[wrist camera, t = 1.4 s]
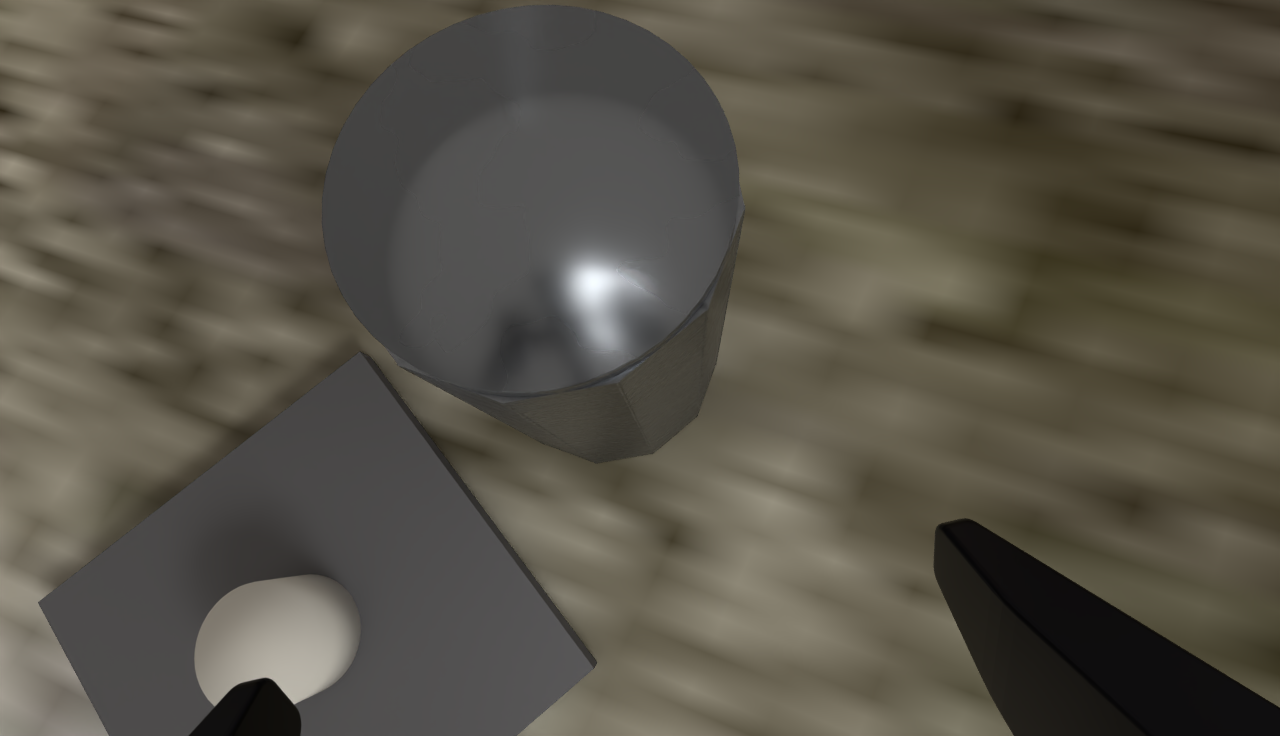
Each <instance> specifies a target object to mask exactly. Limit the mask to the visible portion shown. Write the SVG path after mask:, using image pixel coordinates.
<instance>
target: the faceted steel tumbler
mask: <svg viewBox="0 0 1280 736" xmlns="http://www.w3.org/2000/svg"><path fill="white" fill-rule="evenodd" d="M744 213H745V205H744V202H743V197H742V193H741V188H740V184H739V167H738V160H737V154H736V147H735V143H734V139H733V136H732V133H731V130H730V126H729V123H728V120H727V118H726V116H725V114H724V111H723V109H722V108H721V105H720V103H719V101H718V99H717V98H716V96H715V95H714V93H713V91H712V90H711V88H710V87H709V85H708V84H707V82H706V81H705V79H704V78H703V77H702V76H701V75H700V74H699V72H698V71H697V70H696V69H695V68H694V67H693V66H692V64H691V63H690V62H689V61H688V60H687V59H686V58H685V57H683V56H682V55H681V54H680V53H679V52H678V51H676V50H675V49H674V48H673V47H672V46H671V45H669V44H668V43H666V42H665V41H663V40H662V39H660V38H659V37H657V36H656V35H654V34H653V33H651V32H650V31H648V30H646V29H644V28H642V27H640V26H637V25H635V24H633V23H631V22H629V21H627V20H624V19H621V18H618V17H615V16H612V15H609V14H606V13H604V12H599V11H594V10H590V9H585V8H580V7H571V6H559V5H532V6H521V7H514V8H507V9H501V10H497V11H493V12H489V13H485V14H481V15H477V16H475V17H472V18H469V19H467V20H464V21H461V22H459V23H456V24H453V25H451V26H449V27H447V28H445V29H443V30H441V31H439V32H437V33H435V34H433V35H431V36H430V37H428V38H427V39H425V40H423V41H422V42H420V43H419V44H417V45H416V46H414V47H413V48H411V49H410V50H408V51H407V52H406V53H405V54H403V55H402V56H401V57H400V58H399V59H397V60H396V61H395V62H394V63H392V64H391V65H390V66H389V67H388V68H387V69H386V70H385V71H384V72H383V73H382V74H381V75H380V76H379V77H378V78H377V79H376V80H375V81H374V82H373V83H372V84H371V86H370V87H369V88H368V90H367V91H366V92H365V93H364V95H363V96H362V97H361V99H360V100H359V101H358V103H357V104H356V105H355V107H354V109H353V110H352V112H351V114H350V115H349V117H348V119H347V121H346V122H345V124H344V126H343V128H342V130H341V132H340V134H339V137H338V139H337V141H336V144H335V146H334V148H333V151H332V154H331V158H330V161H329V165H328V168H327V172H326V177H325V183H324V190H323V197H322V228H323V235H324V243H325V249H326V253H327V256H328V260H329V263H330V267H331V271H332V273H333V276H334V278H335V280H336V283H337V285H338V287H339V289H340V291H341V293H342V295H343V297H344V299H345V300H346V302H347V303H348V305H349V306H350V308H351V310H352V311H353V313H354V314H355V316H356V317H357V318H358V319H359V321H360V322H361V323H362V324H363V325H364V326H365V328H366V329H367V330H368V331H369V332H370V333H371V334H372V336H373V337H375V338H376V339H377V340H378V341H379V342H380V343H382V344H383V345H384V346H385V348H386V349H387V350H388V352H389V353H390V354H391V356H392V357H393V358H394V360H395V361H396V362H397V365H399V366H400V367H401V368H403V369H405V370H407V371H409V372H410V373H412V374H414V375H416V376H418V377H420V378H422V379H423V380H425V381H427V382H429V383H431V384H433V385H435V386H436V387H438V388H440V389H442V390H444V391H446V392H448V393H450V394H451V395H453V396H455V397H457V398H459V399H461V400H463V401H464V402H466V403H468V404H470V405H472V406H474V407H476V408H477V409H479V410H481V411H483V412H485V413H487V414H489V415H490V416H492V417H494V418H496V419H498V420H500V421H502V422H504V423H505V424H507V425H509V426H511V427H513V428H515V429H517V430H518V431H520V432H522V433H524V434H526V435H528V436H530V437H531V438H533V439H535V440H537V441H539V442H541V443H543V444H544V445H545V444H546V445H549V446H551V447H554V448H557V449H559V450H562V451H565V452H567V453H570V454H573V455H575V456H578V457H581V458H583V459H586V460H589V461H591V462H594V463H595V464H596V463H597V464H598V463H602V462H607V461H613V460H619V459H624V458H630V457H636V456H641V455H647V454H653V453H654V452H655V451H657V450H658V449H659V448H660V447H661V446H663V445H664V444H665V443H666V442H667V441H669V440H670V439H671V438H672V437H673V436H675V435H676V434H677V433H678V432H679V431H680V430H682V429H683V428H684V427H685V426H686V425H688V424H689V423H690V422H691V421H692V420H694V419H695V418H696V417H697V416H698V413H699V410H700V407H701V404H702V401H703V399H704V396H705V393H706V390H707V387H708V385H709V382H710V379H711V376H712V373H713V371H714V368H715V365H716V362H717V357H718V352H719V346H720V341H721V336H722V330H723V325H724V320H725V314H726V309H727V304H728V298H729V293H730V288H731V282H732V277H733V272H734V266H735V261H736V256H737V250H738V245H739V240H740V234H741V229H742V224H743V218H744Z"/></svg>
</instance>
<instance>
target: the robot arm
mask: <svg viewBox="0 0 1280 736" xmlns="http://www.w3.org/2000/svg"><path fill="white" fill-rule="evenodd" d="M934 573H935V577H936V580H937V582H938V585H939V587H940V589H941V591H942V593H943V596H944V598H945V600H946V602H947V604H948V606H949V608H950V611H951V613H952V615H953V617H954V619H955V621H956V623H957V626H958V628H959V630H960V632H961V634H962V636H963V639H964V641H965V643H966V645H967V647H968V649H969V651H970V654H971V656H972V658H973V660H974V662H975V664H976V666H977V669H978V671H979V673H980V675H981V677H982V679H983V681H984V683H985V685H986V687H987V689H988V691H989V693H990V695H991V697H992V699H993V701H994V703H995V704H996V706H997V708H998V710H999V711H1000V713H1001V715H1002V717H1003V718H1004V720H1005V722H1006V723H1007V725H1008V727H1009V728H1010V730H1011V732H1012V733H1013V735H1014V736H1280V708H1279V707H1278V706H1276V705H1274V704H1273V703H1271V702H1270V701H1268V700H1266V699H1265V698H1263V697H1261V696H1260V695H1258V694H1256V693H1255V692H1253V691H1252V690H1250V689H1248V688H1247V687H1245V686H1243V685H1242V684H1240V683H1239V682H1237V681H1235V680H1234V679H1232V678H1230V677H1229V676H1227V675H1225V674H1224V673H1222V672H1221V671H1219V670H1217V669H1216V668H1214V667H1212V666H1211V665H1209V664H1207V663H1206V662H1204V661H1203V660H1201V659H1199V658H1198V657H1196V656H1194V655H1193V654H1191V653H1189V652H1188V651H1186V650H1185V649H1183V648H1181V647H1180V646H1178V645H1176V644H1175V643H1173V642H1171V641H1170V640H1168V639H1167V638H1165V637H1163V636H1162V635H1160V634H1158V633H1157V632H1155V631H1153V630H1152V629H1150V628H1149V627H1147V626H1145V625H1144V624H1142V623H1140V622H1139V621H1137V620H1135V619H1134V618H1132V617H1131V616H1129V615H1127V614H1126V613H1124V612H1122V611H1121V610H1119V609H1118V608H1116V607H1114V606H1113V605H1111V604H1109V603H1108V602H1106V601H1104V600H1103V599H1101V598H1100V597H1098V596H1096V595H1095V594H1093V593H1091V592H1090V591H1088V590H1086V589H1085V588H1083V587H1082V586H1080V585H1078V584H1077V583H1075V582H1073V581H1072V580H1070V579H1068V578H1067V577H1065V576H1064V575H1062V574H1060V573H1059V572H1057V571H1055V570H1054V569H1052V568H1050V567H1049V566H1047V565H1046V564H1044V563H1042V562H1041V561H1039V560H1037V559H1036V558H1034V557H1032V556H1031V555H1029V554H1028V553H1026V552H1024V551H1023V550H1021V549H1019V548H1018V547H1016V546H1014V545H1013V544H1011V543H1010V542H1008V541H1006V540H1005V539H1003V538H1001V537H1000V536H998V535H997V534H995V533H993V532H992V531H990V530H988V529H987V528H985V527H983V526H982V525H980V524H979V523H977V522H975V521H973V520H971V519H966V518H965V519H958V520H954V521H949V522H945V523H941V524H939V525H938V526H937V528H936V530H935V543H934ZM301 726H302V725H301V716H300V713H299V710H298V709H297V707H296V706H295V705H294V704H293V703H292V701H291V700H290V699H289V698H288V697H287V695H286V694H285V693H284V692H283V691H282V690H281V688H280V687H279V686H278V685H277V684H276V683H275V682H274V681H273V680H272V679H270V678H260V679H255V680H251V681H246V682H242V683H240V684H237V685H236V686H234V687H233V688H232V689H231V690H230V691H229V692H228V693H227V694H226V695H225V696H224V697H223V698H222V699H221V700H220V701H219V702H218V704H217V705H216V706H215V707H214V708H213V709H212V710H211V711H210V712H209V713H208V715H207V716H206V717H205V718H204V719H203V720H202V721H201V722H200V723H199V724H198V726H197V727H196V728H195V729H194V730H193V731H192V732H191V733H190V734H189V735H188V736H301Z"/></svg>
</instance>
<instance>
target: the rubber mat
mask: <svg viewBox="0 0 1280 736" xmlns="http://www.w3.org/2000/svg"><path fill="white" fill-rule="evenodd" d="M38 603H39V605H40V607H41V609H42V611H43V613H44V615H45V617H46V618H47V620H48V622H49V624H50V626H51V628H52V630H53V632H54V633H55V635H56V637H57V639H58V641H59V643H60V645H61V647H62V648H63V650H64V652H65V654H66V656H67V658H68V660H69V661H70V663H71V665H72V667H73V669H74V671H75V673H76V675H77V676H78V678H79V680H80V682H81V684H82V686H83V688H84V690H85V691H86V693H87V695H88V697H89V699H90V701H91V703H92V704H93V706H94V708H95V710H96V712H97V714H98V716H99V718H100V719H101V721H102V723H103V725H104V727H105V729H106V731H107V733H108V734H109V736H188V735H189V734H190V733H191V732H192V731H193V730H194V729H195V728H196V727H197V726H198V724H199V723H200V722H201V721H202V720H203V719H204V718H205V717H206V716H207V715H208V713H209V712H210V711H211V710H212V709H213V708H214V707H215V706H216V705H217V704H218V702H219V701H220V700H221V699H222V698H223V697H224V696H225V695H226V694H227V693H228V692H229V691H230V690H231V689H232V688H233V687H234V686H236V685H237V684H240V683H242V682H246V681H251V680H255V679H260V678H270V679H272V680H273V681H274V682H275V683H276V684H277V685H278V686H279V687H280V688H281V690H282V691H283V692H284V693H285V694H286V695H287V697H288V698H289V699H290V700H291V701H292V703H293V704H294V705H295V706H296V707H297V709H298V710H299V713H300V716H301V725H302V726H301V736H517V735H518V734H519V733H520V732H521V731H522V730H524V729H525V728H526V727H527V726H528V725H529V724H530V723H532V722H533V721H534V720H535V719H536V718H537V717H538V716H540V715H541V714H542V713H543V712H544V711H545V710H547V709H548V708H549V707H550V706H551V705H552V704H553V703H555V702H556V701H557V700H558V699H559V698H560V697H561V696H563V695H564V694H565V693H566V692H567V691H568V690H570V689H571V688H572V687H573V686H574V685H575V684H576V683H578V682H579V681H580V680H581V679H582V678H583V677H584V676H586V675H587V674H588V673H589V672H590V671H591V670H593V669H594V667H595V666H596V664H597V662H596V660H595V659H594V658H593V656H592V655H591V654H590V652H589V651H588V650H587V648H586V647H585V645H584V644H583V643H582V641H581V640H580V639H579V637H578V636H577V635H576V633H575V632H574V631H573V629H572V628H571V627H570V625H569V624H568V623H567V621H566V620H565V619H564V617H563V616H562V614H561V613H560V612H559V610H558V609H557V608H556V606H555V605H554V604H553V602H552V601H551V600H550V598H549V597H548V596H547V594H546V593H545V592H544V590H543V589H542V587H541V586H540V585H539V583H538V582H537V581H536V579H535V578H534V577H533V575H532V574H531V573H530V571H529V570H528V569H527V567H526V566H525V565H524V563H523V562H522V561H521V559H520V558H519V556H518V555H517V554H516V552H515V551H514V550H513V548H512V547H511V546H510V544H509V543H508V542H507V540H506V539H505V538H504V536H503V535H502V534H501V532H500V531H499V530H498V528H497V527H496V525H495V524H494V523H493V521H492V520H491V519H490V517H489V516H488V515H487V513H486V512H485V511H484V509H483V508H482V507H481V505H480V504H479V503H478V501H477V500H476V498H475V497H474V496H473V494H472V493H471V492H470V490H469V489H468V488H467V486H466V485H465V484H464V482H463V481H462V480H461V478H460V477H459V476H458V474H457V473H456V472H455V470H454V469H453V467H452V466H451V465H450V463H449V462H448V461H447V459H446V458H445V457H444V455H443V454H442V453H441V451H440V450H439V449H438V447H437V446H436V445H435V443H434V442H433V441H432V439H431V438H430V436H429V435H428V434H427V432H426V431H425V430H424V428H423V427H422V426H421V424H420V423H419V422H418V420H417V419H416V418H415V416H414V415H413V414H412V412H411V411H410V409H409V408H408V407H407V405H406V404H405V403H404V401H403V400H402V399H401V397H400V396H399V395H398V393H397V392H396V391H395V389H394V388H393V387H392V385H391V384H390V383H389V381H388V380H387V378H386V377H385V376H384V374H383V373H382V372H381V370H380V369H379V368H378V366H377V365H376V364H375V362H374V361H373V360H372V358H371V357H369V356H368V355H366V354H364V353H362V352H359V353H357V354H356V355H355V356H353V357H352V358H351V359H350V360H348V361H347V362H346V363H344V364H343V365H342V366H341V367H339V368H338V369H337V370H335V371H334V372H333V373H332V374H330V375H329V376H328V377H327V378H325V379H324V380H323V381H321V382H320V383H319V384H318V385H316V386H315V387H314V388H312V389H311V390H310V391H309V392H307V393H306V394H305V395H303V396H302V397H301V398H300V399H298V400H297V401H296V402H294V403H293V404H292V405H291V406H289V407H288V408H287V409H285V410H284V411H283V412H282V413H280V414H279V415H278V416H276V417H275V418H274V419H273V420H271V421H270V422H269V423H268V424H266V425H265V426H264V427H262V428H261V429H260V430H259V431H257V432H256V433H255V434H253V435H252V436H251V437H250V438H248V439H247V440H246V441H244V442H243V443H242V444H241V445H239V446H238V447H237V448H235V449H234V450H233V451H232V452H230V453H229V454H228V455H226V456H225V457H224V458H223V459H221V460H220V461H219V462H218V463H216V464H215V465H214V466H212V467H211V468H210V469H209V470H207V471H206V472H205V473H203V474H202V475H201V476H200V477H198V478H197V479H196V480H194V481H193V482H192V483H191V484H189V485H188V486H187V487H185V488H184V489H183V490H182V491H180V492H179V493H178V494H176V495H175V496H174V497H173V498H171V499H170V500H169V501H167V502H166V503H165V504H164V505H162V506H161V507H160V508H159V509H157V510H156V511H155V512H153V513H152V514H151V515H150V516H148V517H147V518H146V519H144V520H143V521H142V522H141V523H139V524H138V525H137V526H135V527H134V528H133V529H132V530H130V531H129V532H128V533H126V534H125V535H124V536H123V537H121V538H120V539H119V540H117V541H116V542H115V543H114V544H112V545H111V546H110V547H109V548H107V549H106V550H105V551H103V552H102V553H101V554H100V555H98V556H97V557H96V558H94V559H93V560H92V561H91V562H89V563H88V564H87V565H85V566H84V567H83V568H82V569H80V570H79V571H78V572H76V573H75V574H74V575H73V576H71V577H70V578H69V579H67V580H66V581H65V582H64V583H62V584H61V585H60V586H58V587H57V588H56V589H55V590H53V591H52V592H51V593H50V594H48V595H47V596H46V597H44V598H43V599H42V600H41V601H39V602H38Z"/></svg>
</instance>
